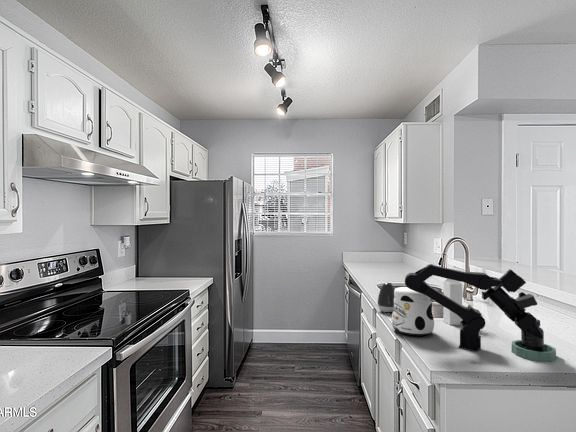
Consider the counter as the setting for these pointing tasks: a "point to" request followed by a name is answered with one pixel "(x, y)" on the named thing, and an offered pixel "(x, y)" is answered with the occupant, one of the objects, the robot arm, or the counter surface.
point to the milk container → (412, 312)
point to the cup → (534, 352)
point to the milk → (455, 293)
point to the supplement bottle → (533, 340)
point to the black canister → (386, 298)
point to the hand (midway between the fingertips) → (537, 333)
